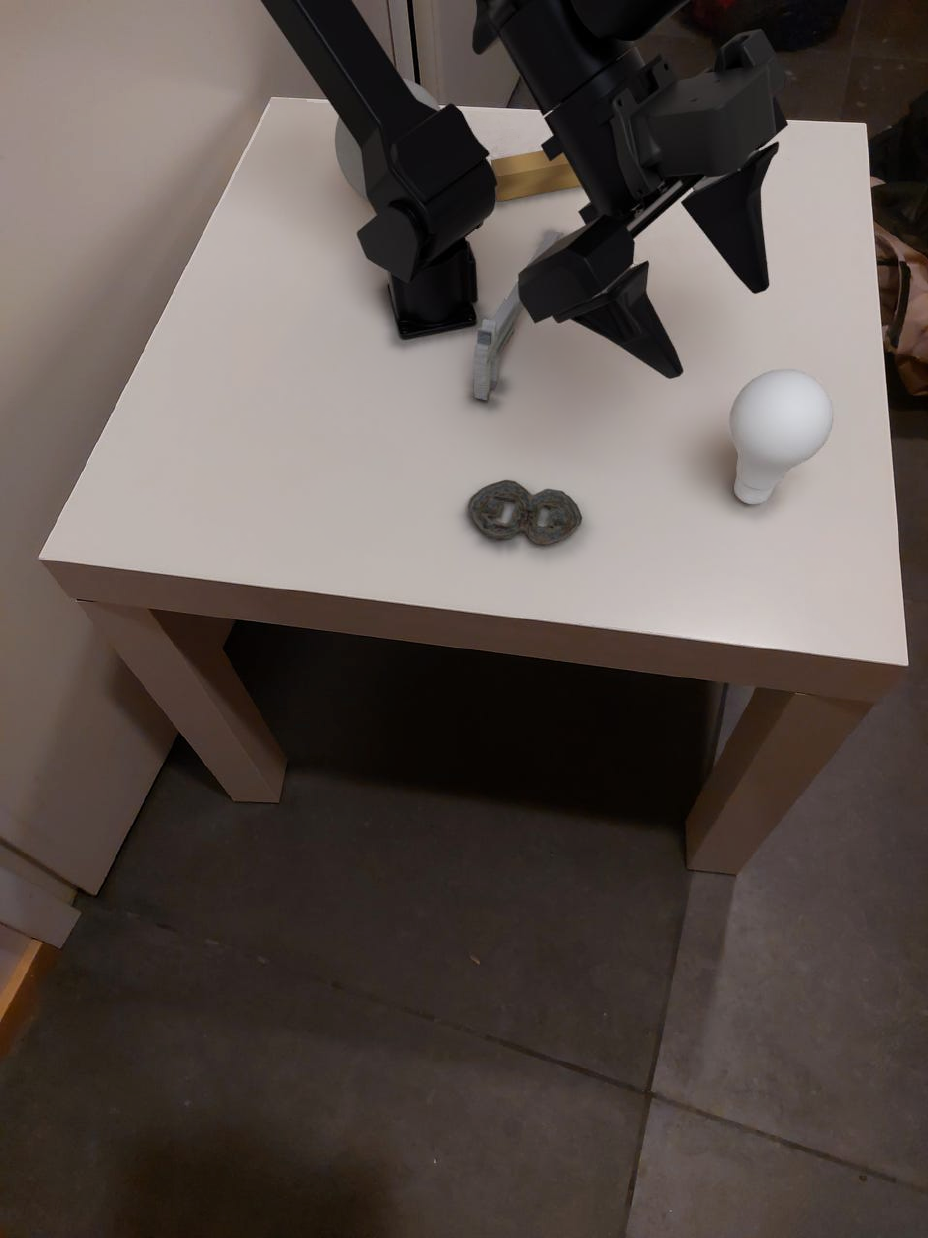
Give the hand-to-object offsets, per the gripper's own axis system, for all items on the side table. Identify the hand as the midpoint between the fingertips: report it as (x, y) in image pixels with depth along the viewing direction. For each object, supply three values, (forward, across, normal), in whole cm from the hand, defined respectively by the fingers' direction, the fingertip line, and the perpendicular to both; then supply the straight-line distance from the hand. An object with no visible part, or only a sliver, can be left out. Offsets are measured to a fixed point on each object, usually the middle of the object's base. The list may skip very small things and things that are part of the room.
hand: (720, 332), depth 51 cm
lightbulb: (+12, 0, +5) cm, 13 cm away
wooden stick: (-11, +19, +28) cm, 36 cm away
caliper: (-5, +4, +22) cm, 23 cm away
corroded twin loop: (+4, -12, +12) cm, 18 cm away
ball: (-18, +9, +35) cm, 41 cm away
